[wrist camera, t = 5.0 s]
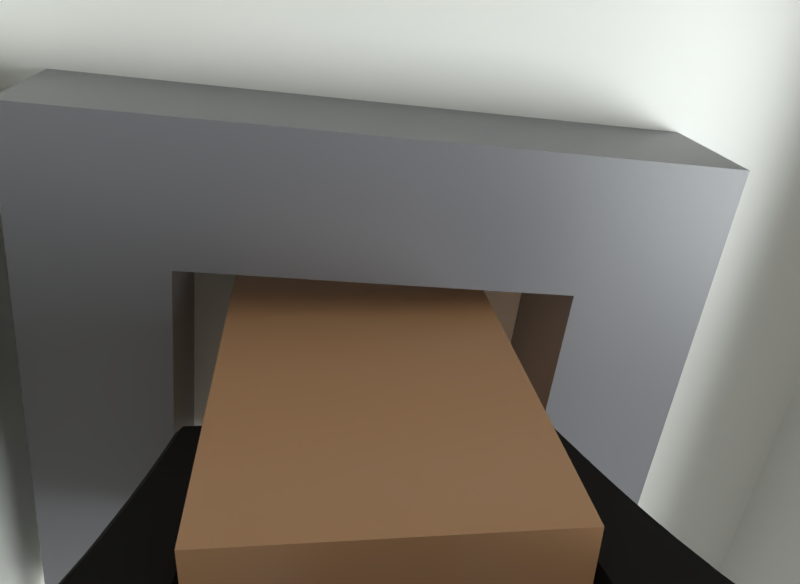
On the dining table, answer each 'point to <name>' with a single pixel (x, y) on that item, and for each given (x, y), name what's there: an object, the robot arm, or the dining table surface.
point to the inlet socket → (332, 256)
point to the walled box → (527, 97)
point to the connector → (377, 447)
